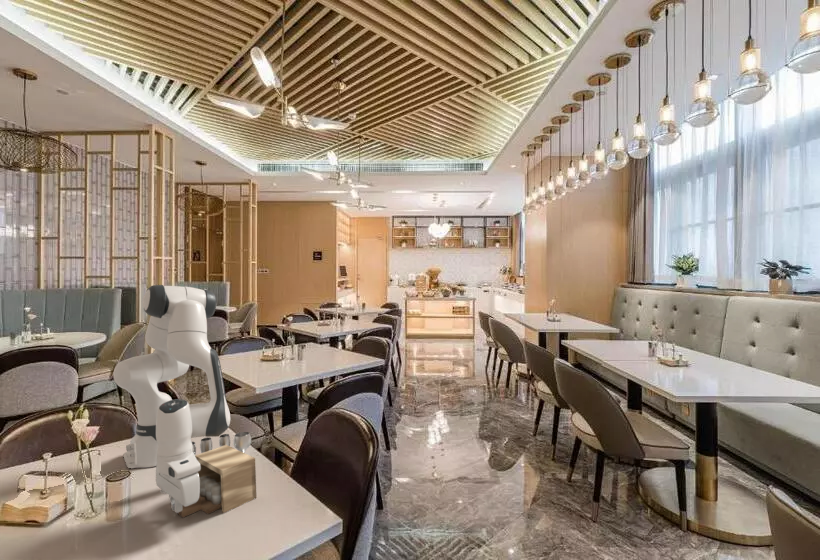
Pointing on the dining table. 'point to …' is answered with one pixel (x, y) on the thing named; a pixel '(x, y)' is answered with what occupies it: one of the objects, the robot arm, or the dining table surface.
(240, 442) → the goblet set
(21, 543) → the dining table surface
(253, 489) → the wooden stand
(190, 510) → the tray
